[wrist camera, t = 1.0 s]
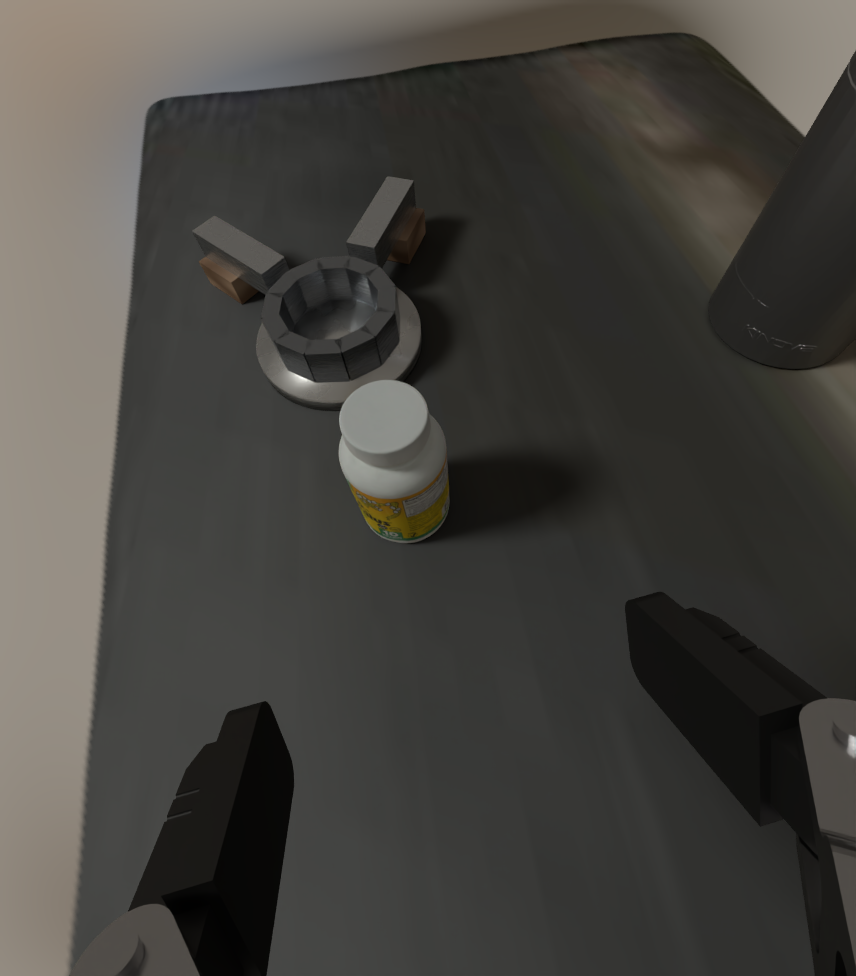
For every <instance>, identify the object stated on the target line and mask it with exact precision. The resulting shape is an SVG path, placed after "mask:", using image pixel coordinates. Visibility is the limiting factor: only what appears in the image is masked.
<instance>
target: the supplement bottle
mask: <svg viewBox="0 0 856 976" xmlns="http://www.w3.org/2000/svg"><path fill="white" fill-rule="evenodd" d="M339 424H340V429H341V432H342V437H341V440H340V445H339V460H340V465H341V468H342V471H343V473H344V475H345V477H346V480H347V482H348V484H349V486H350V488H351V490H352V492H353V494H354V496H355V499H356V501H357V502H358V505H359V507H360V509H361V511H362V513H363V516H364V518H365V520H366V522H367V523H368V525H369V526H370V528H371V529H372V530H373V531H374V532H375V533H376V534H377V535H379V536H381V537H382V538H384V539H387V540H390V541H394V542H398V543H414V542H418V541H421V540H423V539H425V538H427V537H429V536H430V535H432V534H433V533H434V532H436V531H437V530H438V529H439V528H440V526H441V525H442V524H443V522H444V520H445V518H446V516H447V514H448V510H449V502H450V499H449V480H448V464H447V449H446V441H445V437H444V434H443V431H442V429H441V427H440V425H439V424H438V422H437V421H436V420H435V419H434V418H433V417H432V416H431V415H430V414H429V411H428V407H427V404H426V401H425V399H424V398H423V396H422V395H421V394H420V393H419V392H418V391H417V390H416V389H415V388H414V387H412V386H410V385H408V384H406V383H403V382H400V381H396V380H379V381H374V382H371V383H368V384H365V385H363V386H361V387H360V388H358V389H357V390H355V391H354V392H353V393H352V394H351V395H350V396H349V397H348V398H347V399H346V401H345V402H344V404H343V406H342V408H341V411H340V417H339Z"/></svg>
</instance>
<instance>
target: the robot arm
mask: <svg viewBox="0 0 856 976" xmlns="http://www.w3.org/2000/svg"><path fill="white" fill-rule="evenodd" d="M708 312H709V317H710V321H711V323H712V325H713V327H714V329H715V331H716V333H717V334H718V335H719V336H720V337H721V339H722V340H723V341H724V342H725V343H726V344H728V345H729V346H730V347H731V348H732V349H734V350H735V351H737V352H738V353H740V354H742V355H743V356H745V357H747V358H749V359H752V360H754V361H757V362H759V363H762V364H766V365H770V366H773V367H779V368H788V369H802V368H810V367H815V366H819V365H822V364H824V363H826V362H829V361H831V360H833V359H834V358H835V357H836V356H837V355H839V354H840V353H841V352H842V351H843V350H844V349H845V348H846V347H847V346H848V345H849V344H850V343H851V342H852V341H853V340H854V339H855V338H856V51H855V53H854V54H853V56H852V58H851V59H850V62H849V64H848V65H847V67H846V69H845V70H844V72H843V74H842V75H841V77H840V79H839V80H838V82H837V84H836V86H835V87H834V89H833V91H832V93H831V94H830V96H829V97H828V99H827V101H826V103H825V104H824V106H823V108H822V109H821V111H820V113H819V115H818V116H817V118H816V120H815V121H814V123H813V125H812V126H811V128H810V130H809V131H808V133H807V135H806V137H805V138H804V140H803V142H802V143H801V145H800V147H799V149H798V150H797V152H796V154H795V155H794V157H793V159H792V160H791V162H790V164H789V166H788V167H787V169H786V171H785V172H784V174H783V176H782V177H781V179H780V181H779V183H778V184H777V186H776V188H775V189H774V191H773V193H772V194H771V196H770V198H769V200H768V201H767V203H766V205H765V206H764V208H763V210H762V211H761V213H760V215H759V217H758V218H757V220H756V222H755V223H754V225H753V227H752V228H751V230H750V232H749V234H748V235H747V237H746V239H745V240H744V242H743V244H742V245H741V247H740V248H739V250H738V252H737V254H736V255H735V257H734V259H733V260H732V262H731V264H730V266H729V267H728V269H727V271H726V272H725V274H724V276H723V277H722V279H721V281H720V283H719V284H718V286H717V288H716V289H715V291H714V293H713V295H712V297H711V299H710V301H709V310H708ZM625 613H626V623H627V632H628V641H629V651H630V659H631V663H632V667H633V669H634V672H635V674H636V676H637V678H638V680H639V682H640V684H641V685H642V686H643V688H644V689H645V690H646V691H647V693H648V694H649V695H650V696H651V697H652V699H653V700H654V701H655V702H656V703H657V705H658V706H659V707H660V708H661V709H662V710H663V712H664V713H665V714H666V715H667V716H668V718H669V719H670V720H671V721H672V722H673V724H674V725H675V726H676V727H677V728H678V729H679V731H680V732H681V733H682V734H683V735H684V737H685V738H686V739H687V740H688V741H689V743H690V744H691V745H692V746H693V747H694V748H695V750H696V751H697V752H698V753H699V754H700V756H701V757H702V758H703V759H704V760H705V762H706V763H707V764H708V765H709V766H710V767H711V769H712V770H713V771H714V772H715V773H716V775H717V776H718V777H719V778H720V779H721V781H722V782H723V783H724V784H725V785H726V786H727V788H728V789H729V790H730V791H731V792H732V794H733V795H734V796H735V797H736V798H737V800H738V801H739V802H740V803H741V804H742V805H743V807H744V808H745V809H746V810H747V811H748V813H749V814H750V815H751V816H752V817H753V819H754V820H755V821H756V822H757V823H758V825H759V826H760V827H761V826H764V825H767V824H770V823H773V822H776V821H779V820H782V819H784V820H785V821H786V822H787V823H788V824H789V825H790V826H791V828H792V829H793V830H794V831H795V832H796V847H797V854H798V861H799V868H800V875H801V881H802V888H803V895H804V902H805V909H806V916H807V923H808V930H809V937H810V944H811V951H812V958H813V965H814V973H815V976H856V701H852V700H847V699H833V698H826V697H825V696H824V695H822V694H821V693H820V692H818V691H817V690H816V689H814V688H813V687H812V686H810V685H809V684H808V683H806V682H805V681H804V680H802V679H801V678H800V677H798V676H797V675H796V674H794V673H793V672H792V671H790V670H789V669H787V668H786V667H785V666H783V665H782V664H781V663H779V662H778V661H777V660H775V659H774V658H773V657H771V656H770V655H769V654H767V653H766V652H765V651H763V650H762V649H758V648H757V646H756V645H755V644H754V643H753V642H751V641H750V640H749V639H747V638H746V637H745V636H741V635H740V634H739V632H738V631H736V630H735V629H734V628H732V627H731V626H730V625H728V624H727V623H726V622H724V621H723V620H722V619H720V618H719V617H716V616H714V615H711V614H709V613H706V612H704V611H701V610H699V609H696V608H689V609H686V610H685V609H684V608H683V607H681V606H680V605H679V604H678V603H676V602H675V601H674V600H672V599H671V598H670V597H669V596H667V595H666V594H665V593H663V592H657V593H653V594H650V595H646V596H642V597H639V598H635V599H632V600H628V601H627V602H626V605H625ZM293 790H294V772H293V765H292V760H291V757H290V754H289V751H288V749H287V746H286V744H285V741H284V739H283V736H282V734H281V731H280V729H279V726H278V723H277V721H276V718H275V716H274V713H273V711H272V709H271V706H270V705H269V704H268V702H266V701H264V702H260V703H257V704H253V705H250V706H246V707H242V708H239V709H235V710H232V711H229V712H228V713H227V715H226V717H225V720H224V722H223V725H222V728H221V731H220V733H219V736H218V739H217V742H213V743H210V744H206V745H205V746H204V747H203V748H202V750H201V751H200V752H199V753H198V755H197V756H196V757H195V759H194V760H193V761H192V762H191V764H190V765H189V766H188V767H187V769H186V771H185V773H184V776H183V778H182V781H181V783H180V786H179V788H178V790H177V793H176V799H175V800H173V803H172V805H171V808H170V810H169V812H168V815H167V821H166V822H164V825H163V827H162V830H161V832H160V834H159V837H158V839H157V842H156V844H155V847H154V849H153V852H152V854H151V856H150V859H149V861H148V864H147V866H146V869H145V871H144V874H143V876H142V878H141V881H140V883H139V886H138V888H137V891H136V893H135V896H134V898H133V900H132V903H131V905H130V908H129V910H128V912H127V913H125V914H124V915H122V916H121V917H119V918H118V919H116V920H115V921H114V922H112V923H111V924H110V925H109V926H107V927H106V928H105V929H104V930H103V931H102V932H101V933H100V934H99V935H98V936H97V937H96V938H95V939H94V940H93V941H92V942H91V944H90V945H89V946H88V947H87V949H86V950H85V951H84V952H83V954H82V955H81V957H80V958H79V960H78V961H77V963H76V964H75V966H74V968H73V969H72V971H71V973H70V975H69V976H266V975H267V968H268V961H269V954H270V947H271V940H272V934H273V927H274V920H275V913H276V906H277V900H278V893H279V886H280V879H281V872H282V865H283V859H284V852H285V845H286V838H287V831H288V824H289V818H290V811H291V804H292V797H293Z"/></svg>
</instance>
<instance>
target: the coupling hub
mask: <svg viewBox="0 0 856 976" xmlns="http://www.w3.org/2000/svg"><path fill="white" fill-rule="evenodd" d="M261 320H262V324H261V327H260V329H259V332H258V336H257V343H256V349H257V356H258V360H259V363H260V365H261V367H262V369H263V371H264V373H265V375H266V377H267V378H268V380H269V382H270V383H271V385H272V386H273V387H274V388H275V389H276V390H277V391H278V393H280V394H281V395H282V396H284V397H285V398H286V399H288V400H290V401H292V402H293V403H296V404H298V405H301V406H303V407H307V408H311V409H317V410H325V411H337V410H341V408H342V406H343V404H344V402H345V401H346V399H347V398H348V397H349V396H350V395H351V394H352V393H353V392H354V391H355V390H357V389H358V388H360V387H361V386H363V385H365V384H368V383H371V382H374V381H379V380H396V381H400V382H404V381H405V380H406V378H407V377H408V376H409V375H410V373H411V372H412V370H413V369H414V367H415V366H416V363H417V361H418V359H419V356H420V352H421V347H422V335H421V324H420V318H419V315H418V312H417V310H416V308H415V306H414V304H413V303H412V301H411V300H410V299H409V298H408V296H407V295H406V294H405V293H403V292H402V291H401V290H400V289H398V288H397V287H396V286H395V284H394V283H393V282H392V281H391V280H390V278H389V277H388V276H387V275H386V273H385V272H384V271H383V270H382V268H381V267H380V266H379V265H376V264H373V263H370V262H367V261H364V260H362V259H359V258H356V257H353V256H351V257H350V256H338V257H320V258H318V259H317V258H316V259H313V260H311V261H309V262H306V263H304V264H302V265H300V266H297V267H295V268H293V269H290V270H288V272H287V271H286V272H285V273H284V275H283V276H282V277H281V278H280V279H279V280H278V281H277V282H276V283H275V284H274V285H273V286H272V287H271V288H270V289H269V290H268V291H267V292H266V295H265V300H264V305H263V310H262V315H261Z"/></svg>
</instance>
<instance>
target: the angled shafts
mask: <svg viewBox="0 0 856 976" xmlns="http://www.w3.org/2000/svg"><path fill="white" fill-rule="evenodd" d="M415 209H416V201H415V190H414V181H413V180H407V179H401V178H394V177H388V176H387V178H386V180H385V181H384V183H383V184H382V186H381V188H380V189H379V191H378V192H377V194H376V196H375V197H374V199H373V200H372V202H371V204H370V205H369V207H368V208H367V210H366V212H365V213H364V215H363V216H362V218H361V220H360V221H359V223H358V224H357V226H356V228H355V229H354V231H353V232H352V234H351V236H350V237H349V239H348V240H347V242H346V244H347V248H348V252H349V256H350V257H351V256H353V257H356V258H359V259H362V260H364V261H367V262H370V263H373V264H376V265H379V266H380V267H381V268H383V266H384V264H385V262H386V261H387V259H388V257H389V255H390V254H391V252H392V250H393V248H394V246H395V245H396V243H397V241H398V239H399V238H400V236H401V234H402V232H403V230H404V229H405V227H406V225H407V223H408V221H409V220H410V218H411V216H412V214H413V213H414V211H415ZM192 232H193V234H194V236H195V238H196V240H197V242H198V243H199V245H200V247H201V249H202V251H203V253H204V255H205V256H206V257H207V258H208V259H210V260H212V261H213V262H215V263H216V264H218V265H219V266H221V267H222V268H224V269H226V270H227V271H229V272H230V273H232V274H233V275H235V276H236V277H238V278H240V279H241V280H243V281H244V282H246V283H247V284H249V285H251V286H252V287H254V288H255V289H257V290H258V291H260V292H261V293H263V294H265V295H266V292H267V291H268V290H269V289H270V288H271V287H272V286H273V285H274V284H275V283H276V282H277V281H278V280H279V279H280V278H281V277H282V276H283V275H284V273H285V272H286V271H287V272H288V270H289V268H288V265H287V262H286V260H285V257H284V256H282V255H280V254H279V253H277V252H275V251H274V250H272V249H270V248H269V247H267V246H265V245H263V244H262V243H260V242H258V241H257V240H255V239H253V238H252V237H250V236H248V235H246V234H245V233H243V232H241V231H240V230H238V229H236V228H235V227H233V226H231V225H230V224H228V223H226V222H224V221H223V220H221V219H219V218H218V217H216V216H213V217H212V218H210V219H209V220H207V221H206V222H205V223H203V224H202V225H200V226H199V227H197V228H196V229H194V230H193V231H192Z"/></svg>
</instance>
